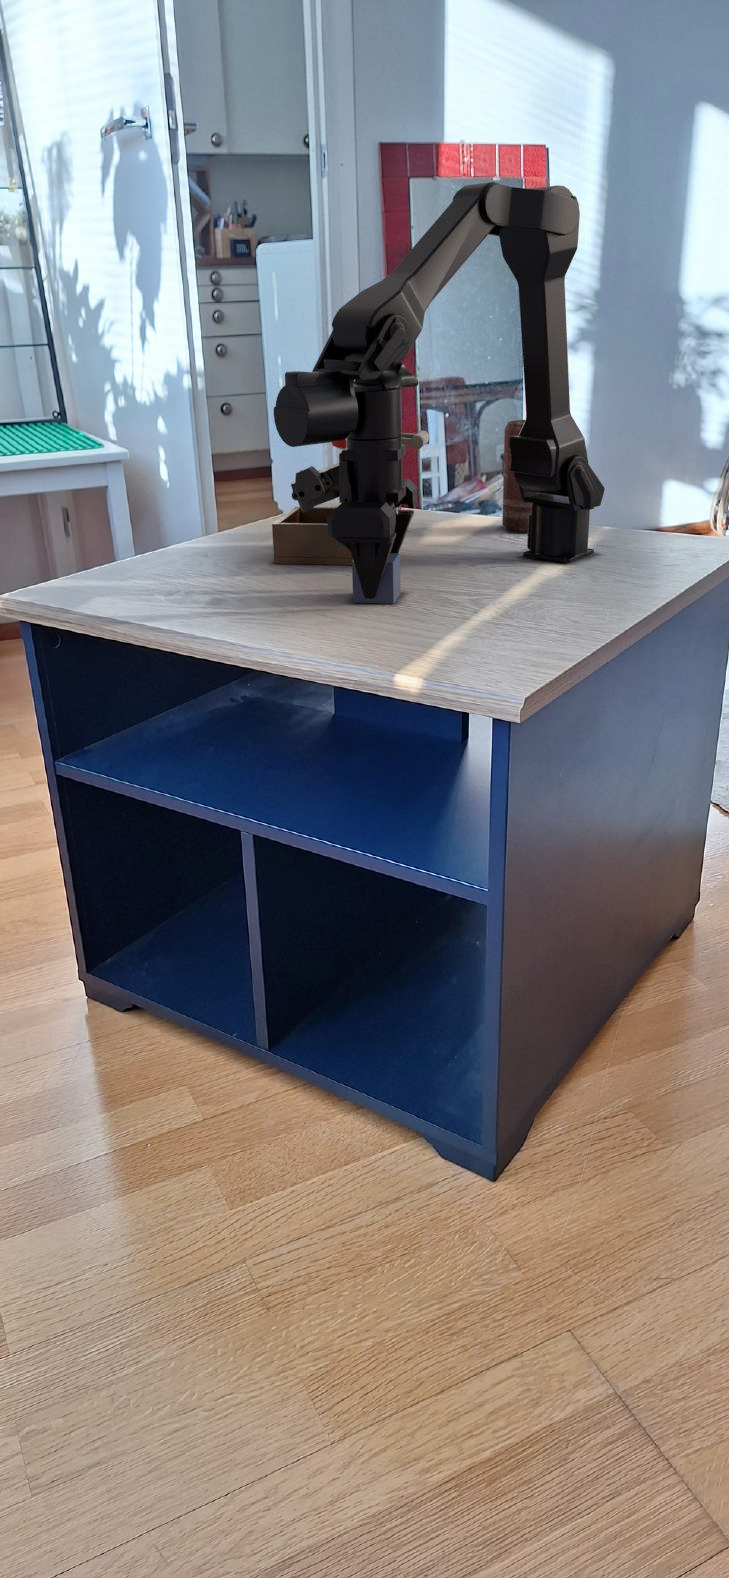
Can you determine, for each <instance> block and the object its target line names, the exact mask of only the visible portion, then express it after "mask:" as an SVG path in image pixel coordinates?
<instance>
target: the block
mask: <svg viewBox="0 0 729 1578" xmlns="http://www.w3.org/2000/svg"><path fill="white" fill-rule="evenodd" d="M351 573H352V574H351V577H352V578H351V579H352V602H353V604H385V605H386V604H389V605H394V604H395V603H396V601H397V599H398V598H399V597H400V595H401V590H402V589H401V553H400V552H399V553H390V555H389V558H388V561H387V564H386V567H385V570H384V573H383V576H382V579H381V582H380V585H379V588H378V591H377V594H376V597H375V598H374V599H366V598H365V597H364V595H363V591H362V588H361V584H360V581H359V578H358V574H357V571H356V567H355V564H354V561H352V565H351Z"/></svg>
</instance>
